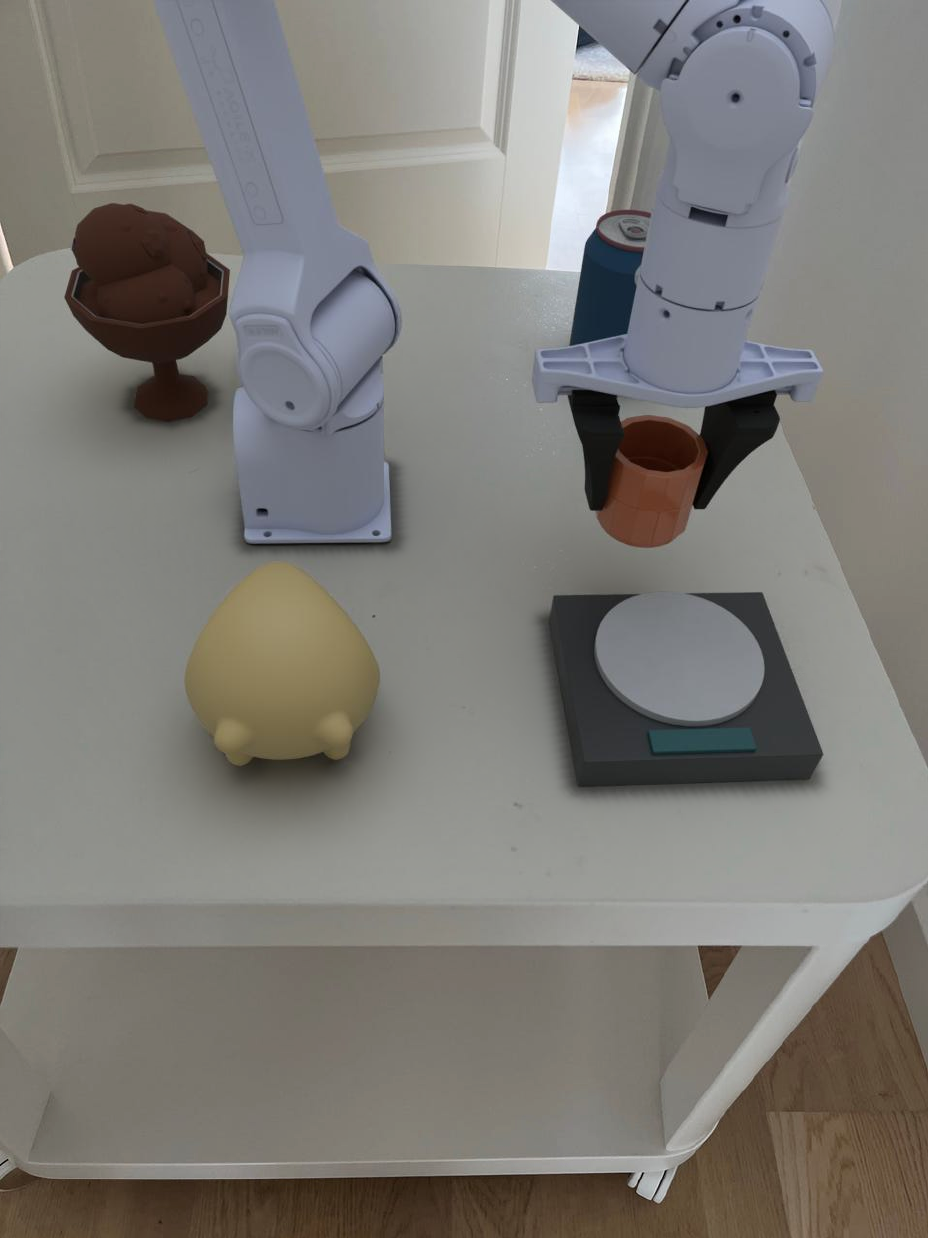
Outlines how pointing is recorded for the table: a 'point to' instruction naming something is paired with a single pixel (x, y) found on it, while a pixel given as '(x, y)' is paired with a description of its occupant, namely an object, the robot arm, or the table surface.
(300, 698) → the toy pig
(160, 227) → the ice cream bowl
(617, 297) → the soda can
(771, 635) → the scale
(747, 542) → the table surface
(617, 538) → the terracotta cup
